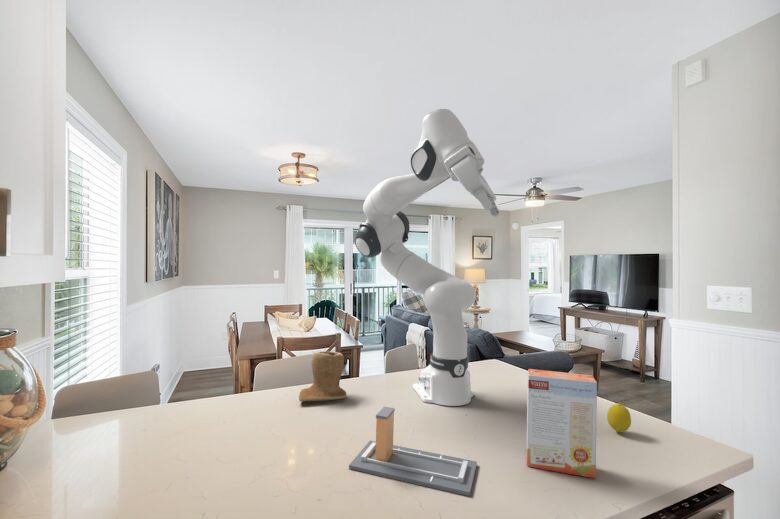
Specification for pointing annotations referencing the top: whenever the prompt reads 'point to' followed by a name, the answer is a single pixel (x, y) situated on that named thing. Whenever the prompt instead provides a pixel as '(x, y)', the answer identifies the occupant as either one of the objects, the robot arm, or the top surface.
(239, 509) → the top surface
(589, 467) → the cracker box
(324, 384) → the tan ugg boot
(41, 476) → the top surface
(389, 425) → the fader cap
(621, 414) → the lemon
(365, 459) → the grey fader base
